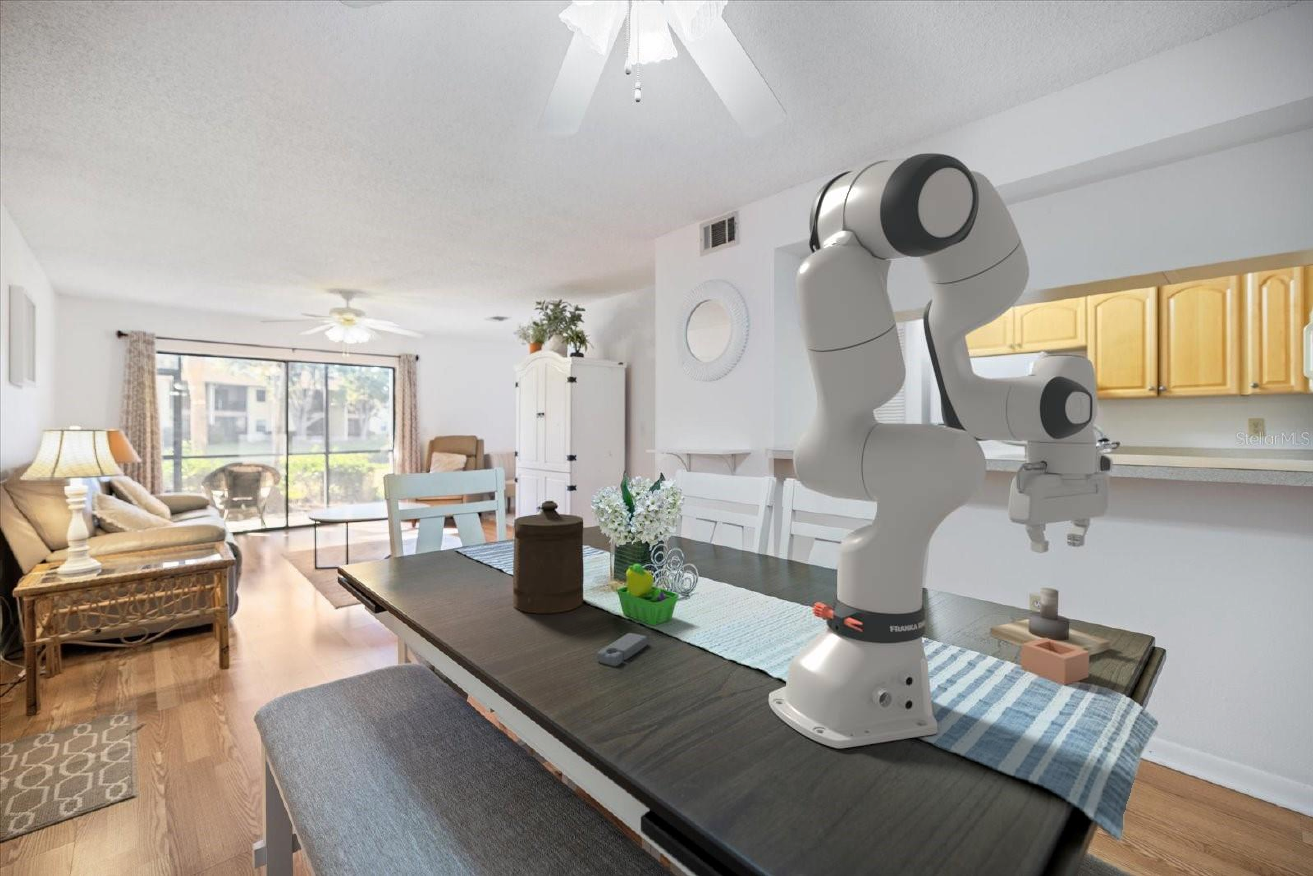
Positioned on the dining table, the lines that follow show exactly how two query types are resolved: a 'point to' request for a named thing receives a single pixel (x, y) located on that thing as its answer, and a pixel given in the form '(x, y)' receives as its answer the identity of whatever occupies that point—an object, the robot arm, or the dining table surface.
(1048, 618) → the pin stand
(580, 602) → the wooden container
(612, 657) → the bracket
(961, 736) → the dining table surface
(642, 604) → the fruit basket
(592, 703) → the dining table surface
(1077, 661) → the orange square ring
